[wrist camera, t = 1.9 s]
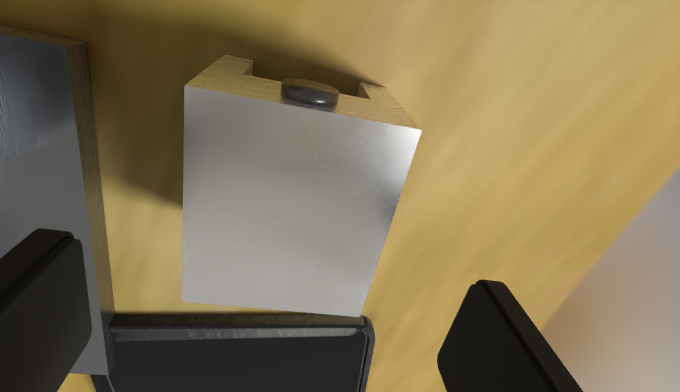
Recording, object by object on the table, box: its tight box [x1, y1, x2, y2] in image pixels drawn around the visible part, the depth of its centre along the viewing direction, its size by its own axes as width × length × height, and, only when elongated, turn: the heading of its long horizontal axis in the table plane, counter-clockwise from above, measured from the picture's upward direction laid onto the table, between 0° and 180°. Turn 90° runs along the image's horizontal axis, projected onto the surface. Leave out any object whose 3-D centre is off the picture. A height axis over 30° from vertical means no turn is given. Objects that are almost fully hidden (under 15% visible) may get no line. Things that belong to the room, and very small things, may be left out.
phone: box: [90, 314, 375, 392], centre depth 21 cm, size 8×1×15 cm
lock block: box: [182, 54, 422, 317], centre depth 13 cm, size 6×7×5 cm
